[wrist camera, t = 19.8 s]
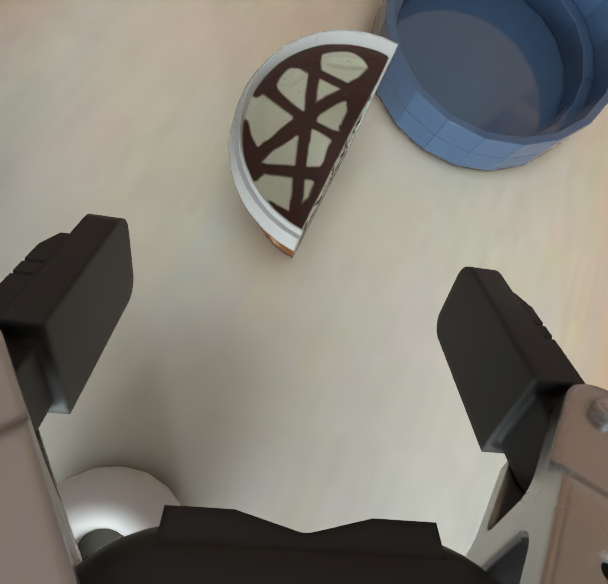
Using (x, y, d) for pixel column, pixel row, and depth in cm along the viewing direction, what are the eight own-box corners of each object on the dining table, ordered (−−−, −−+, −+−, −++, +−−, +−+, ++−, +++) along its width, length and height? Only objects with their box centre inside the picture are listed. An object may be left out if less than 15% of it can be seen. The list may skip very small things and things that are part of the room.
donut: (11, 622, 25) (180, 637, 26) (-29, 666, 21) (167, 681, 22) (49, 450, 26) (207, 468, 27) (17, 465, 23) (199, 486, 24)
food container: (283, 94, 31) (296, -23, 21) (356, 133, 31) (402, 35, 21) (204, 236, 29) (178, 180, 19) (283, 276, 29) (297, 241, 19)
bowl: (359, 152, 31) (376, 120, 27) (378, -51, 34) (397, -111, 29) (574, 187, 33) (624, 162, 28) (577, -8, 35) (623, -59, 31)
